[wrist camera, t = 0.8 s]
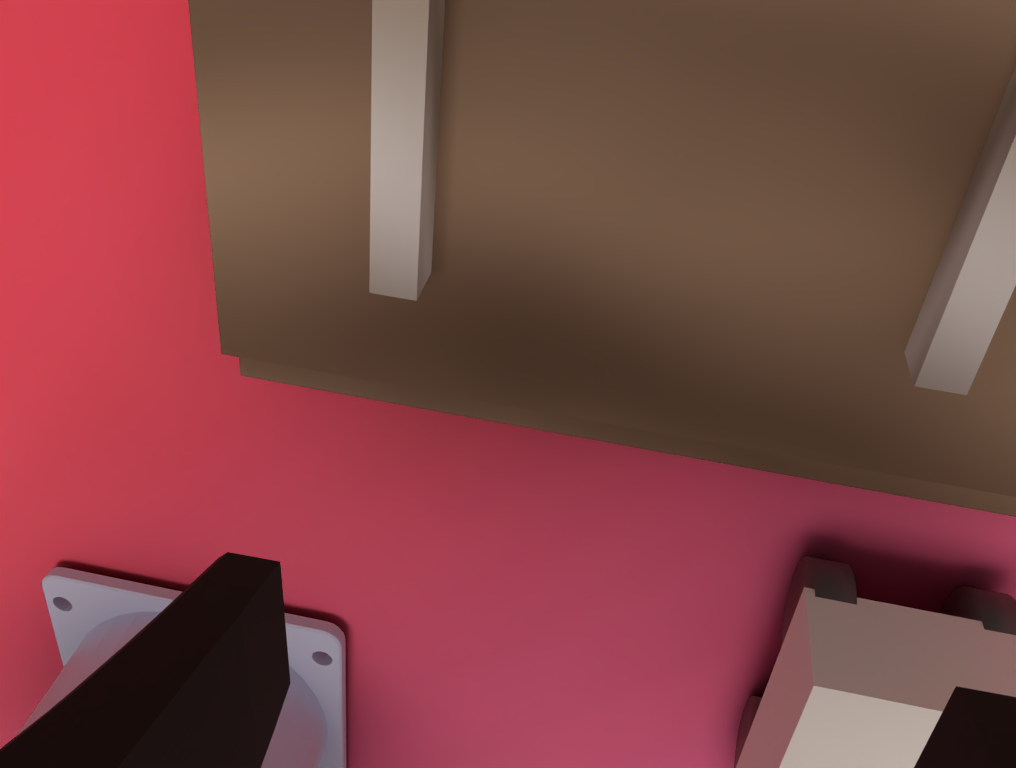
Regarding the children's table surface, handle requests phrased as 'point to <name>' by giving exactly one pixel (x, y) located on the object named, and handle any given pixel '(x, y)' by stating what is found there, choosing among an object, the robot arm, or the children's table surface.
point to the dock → (633, 222)
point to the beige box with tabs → (870, 673)
